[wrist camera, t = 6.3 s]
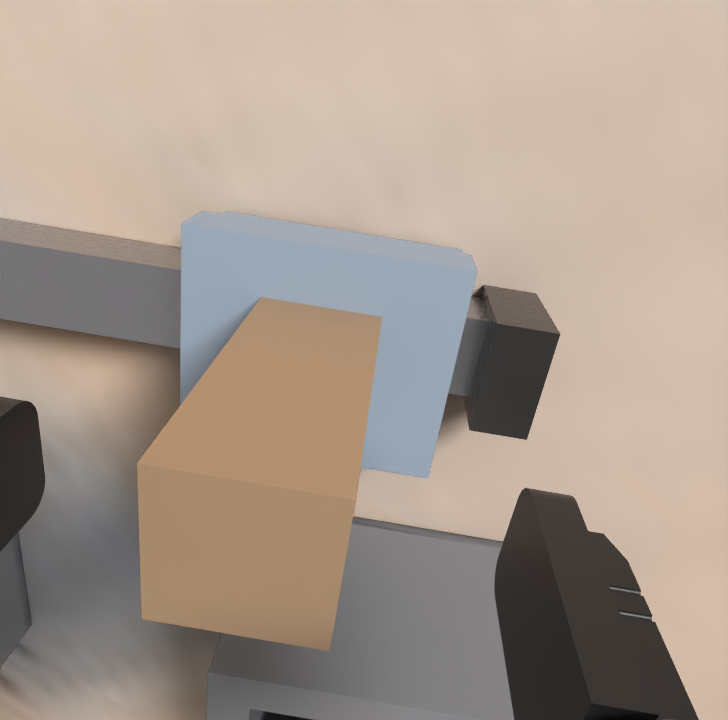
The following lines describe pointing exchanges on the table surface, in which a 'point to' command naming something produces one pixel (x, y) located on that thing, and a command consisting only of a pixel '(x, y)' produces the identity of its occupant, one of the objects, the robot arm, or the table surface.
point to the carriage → (289, 415)
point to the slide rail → (163, 314)
